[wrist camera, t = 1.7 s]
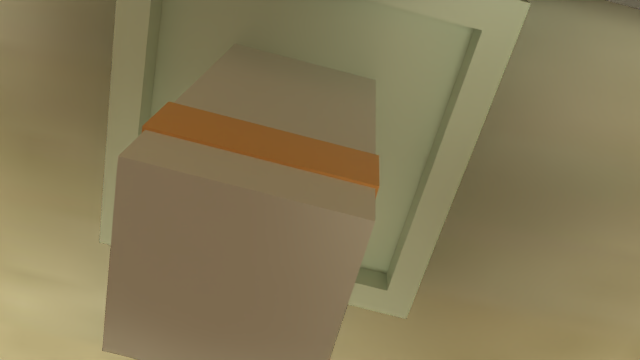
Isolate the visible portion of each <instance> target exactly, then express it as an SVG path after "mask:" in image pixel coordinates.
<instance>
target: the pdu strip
mask: <svg viewBox="0 0 640 360" xmlns="http://www.w3.org/2000/svg"><path fill="white" fill-rule="evenodd" d="M606 1H610V2H614V3H618V4H621V5H625V6H629V7H633V8H636V9H640V0H606Z"/></svg>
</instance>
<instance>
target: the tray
mask: <svg viewBox="0 0 640 360" xmlns="http://www.w3.org/2000/svg"><path fill="white" fill-rule="evenodd" d="M530 6H531V3H530V2H528V1H526V0H116V8H115V22H114V36H113V51H112V65H111V80H110V94H109V109H108V123H107V137H106V152H105V166H104V181H103V195H102V209H101V224H100V238H99V243H103V244H107V245H111V236H112V224H113V211H114V199H115V187H116V174H117V162H118V156H119V155H120V154H121V153H122V152H123V151H124V150H125V149H126V148H127V147H128V146H129V145H130V144H131V143H132V142H133V141H134V140H135V139H136V138H137V137H138V136H139V135H140V134H141V133H142V126H143V125H144V124H145V123H146V122H147V121H148V120H149V119H150V118H151V117H152V116H154V115H155V114H156V113H157V112H158V111H159V110H160V109H161V108H162V107H163V106H164V105H165V104H166V103H167V102H173V103H174V102H175V101H176V100H177V99H178V98H179V97H180V96H181V95H182V94H183V93H184V92H185V91H186V90H187V89H188V88H189V87H190V86H191V85H192V84H193V83H194V82H195V81H197V80H198V79H199V78H200V77H201V76H202V75H203V74H204V73H205V72H206V71H207V70H208V69H209V68H210V67H211V66H212V65H213V64H214V63H215V62H216V61H217V60H218V59H219V58H220V57H221V56H223V55H224V54H225V53H226V52H227V51H228V50H229V49H230V48H231V47H232V46H233V45H234V44H238V45H242V46H246V47H250V48H254V49H257V50H261V51H265V52H269V53H273V54H277V55H280V56H284V57H288V58H292V59H296V60H300V61H304V62H307V63H311V64H315V65H319V66H323V67H327V68H331V69H334V70H338V71H342V72H346V73H350V74H354V75H358V76H361V77H365V78H369V79H373V80H376V150H375V154H376V155H379V189H378V193H377V196H376V199H375V224H374V227H373V230H372V233H371V236H370V239H369V242H368V245H367V248H366V251H365V254H364V257H363V260H362V263H361V266H360V269H359V272H358V275H357V278H356V281H355V284H354V287H353V290H352V293H351V296H350V299H349V302H348V305H351V306H355V307H359V308H363V309H367V310H371V311H375V312H379V313H383V314H387V315H391V316H395V317H399V318H403V319H407V316H408V314H409V311H410V309H411V306H412V304H413V301H414V298H415V296H416V293H417V291H418V288H419V286H420V283H421V281H422V278H423V276H424V273H425V271H426V268H427V266H428V263H429V261H430V258H431V256H432V253H433V251H434V248H435V245H436V243H437V240H438V238H439V235H440V233H441V230H442V228H443V225H444V223H445V220H446V218H447V215H448V213H449V210H450V208H451V205H452V203H453V200H454V197H455V195H456V192H457V190H458V187H459V185H460V182H461V180H462V177H463V175H464V172H465V170H466V167H467V165H468V162H469V160H470V157H471V155H472V152H473V149H474V147H475V144H476V142H477V139H478V137H479V134H480V132H481V129H482V127H483V124H484V122H485V119H486V117H487V114H488V112H489V109H490V107H491V104H492V101H493V99H494V96H495V94H496V91H497V89H498V86H499V84H500V81H501V79H502V76H503V74H504V71H505V69H506V66H507V64H508V61H509V59H510V56H511V53H512V51H513V48H514V46H515V43H516V41H517V38H518V36H519V33H520V31H521V28H522V26H523V23H524V21H525V18H526V16H527V13H528V11H529V8H530Z"/></svg>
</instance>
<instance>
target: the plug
mask: <svg viewBox="0 0 640 360" xmlns="http://www.w3.org/2000/svg"><path fill="white" fill-rule="evenodd" d="M375 150H376V80H373V79H369V78H365V77H361V76H358V75H354V74H350V73H346V72H342V71H338V70H334V69H331V68H327V67H323V66H319V65H315V64H311V63H307V62H304V61H300V60H296V59H292V58H288V57H284V56H280V55H277V54H273V53H269V52H265V51H261V50H257V49H254V48H250V47H246V46H242V45H238V44H234V45H233V46H232V47H231V48H230V49H229V50H228V51H227V52H226V53H225V54H224V55H223V56H221V57H220V58H219V59H218V60H217V61H216V62H215V63H214V64H213V65H212V66H211V67H210V68H209V69H208V70H207V71H206V72H205V73H204V74H203V75H202V76H201V77H200V78H199V79H198V80H197V81H195V82H194V83H193V84H192V85H191V86H190V87H189V88H188V89H187V90H186V91H185V92H184V93H183V94H182V95H181V96H180V97H179V98H178V99H177V100H176V101H175V102H174V103H173V102H167V103H166V104H165V105H164V106H163V107H162V108H161V109H160V110H159V111H158V112H157V113H156V114H155V115H154V116H152V117H151V118H150V119H149V120H148V121H147V122H146V123H145V124H144V125H143V126H142V133H141V134H140V135H139V136H138V137H137V138H136V139H135V140H134V141H133V142H132V143H131V144H130V145H129V146H128V147H127V148H126V149H125V150H124V151H123V152H122V153H121V154H120V155H119V156H118V162H117V174H116V187H115V199H114V211H113V224H112V236H111V249H110V261H109V273H108V286H107V298H106V310H105V323H104V335H103V348H102V351H106V352H110V353H114V354H118V355H122V356H126V357H130V358H134V359H138V360H330V357H331V354H332V351H333V348H334V345H335V342H336V339H337V336H338V333H339V330H340V327H341V324H342V321H343V318H344V315H345V312H346V309H347V306H348V302H349V299H350V296H351V293H352V290H353V287H354V284H355V281H356V278H357V275H358V272H359V269H360V266H361V263H362V260H363V257H364V254H365V251H366V248H367V245H368V242H369V239H370V236H371V233H372V230H373V227H374V224H375V199H376V196H377V193H378V189H379V155H376V154H375Z"/></svg>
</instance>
